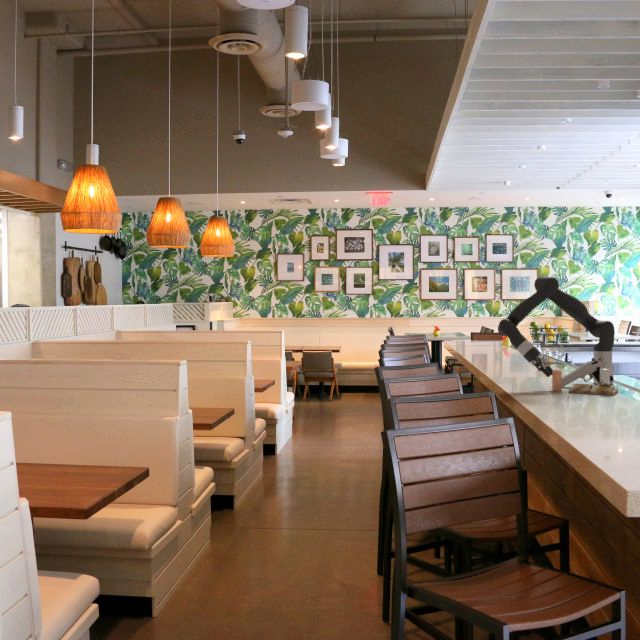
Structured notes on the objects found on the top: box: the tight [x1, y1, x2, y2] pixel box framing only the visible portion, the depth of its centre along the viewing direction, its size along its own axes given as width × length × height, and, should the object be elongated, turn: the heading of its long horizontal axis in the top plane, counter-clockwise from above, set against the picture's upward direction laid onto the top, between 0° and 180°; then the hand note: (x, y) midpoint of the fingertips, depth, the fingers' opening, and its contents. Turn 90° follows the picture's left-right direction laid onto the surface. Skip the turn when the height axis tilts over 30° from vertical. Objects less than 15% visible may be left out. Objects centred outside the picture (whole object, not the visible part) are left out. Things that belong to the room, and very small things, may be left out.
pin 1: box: [551, 369, 563, 392], centre depth 358 cm, size 4×4×10 cm
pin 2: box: [600, 369, 611, 387], centre depth 347 cm, size 4×4×10 cm
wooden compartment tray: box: [568, 383, 619, 396], centre depth 350 cm, size 20×13×4 cm, turn 59°
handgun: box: [562, 357, 615, 388], centre depth 373 cm, size 4×28×15 cm
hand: (551, 375), depth 360 cm, fingers open, 8 cm apart
